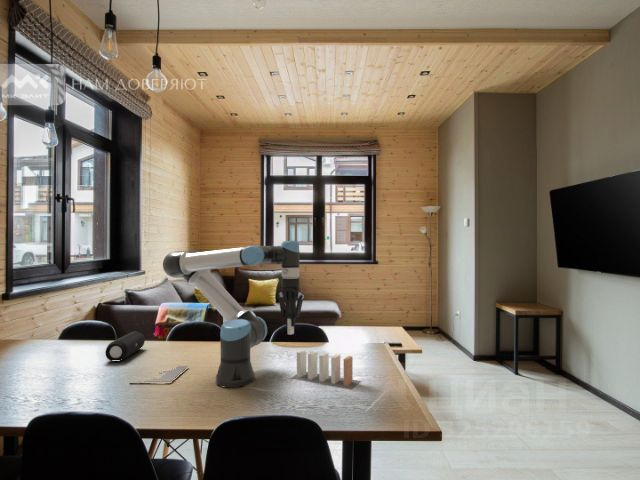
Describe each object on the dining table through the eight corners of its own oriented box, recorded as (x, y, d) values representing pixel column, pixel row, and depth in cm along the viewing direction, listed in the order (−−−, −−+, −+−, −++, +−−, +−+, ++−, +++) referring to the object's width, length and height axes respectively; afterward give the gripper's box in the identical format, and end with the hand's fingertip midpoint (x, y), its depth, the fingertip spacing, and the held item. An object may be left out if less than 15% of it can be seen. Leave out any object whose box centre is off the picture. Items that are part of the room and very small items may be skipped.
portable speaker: (125, 363, 177) (125, 341, 178) (103, 364, 177) (103, 342, 177) (146, 349, 203) (146, 330, 203) (126, 349, 202) (127, 330, 202)
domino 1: (296, 377, 157) (296, 352, 157) (303, 373, 161) (303, 349, 161) (300, 377, 156) (300, 352, 156) (306, 374, 160) (306, 350, 161)
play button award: (188, 366, 170) (170, 381, 150) (188, 369, 170) (170, 385, 150) (152, 365, 170) (129, 381, 150) (152, 369, 170) (129, 385, 150)
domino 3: (319, 381, 152) (319, 355, 152) (325, 377, 156) (325, 352, 156) (323, 381, 151) (323, 356, 151) (328, 377, 156) (328, 353, 156)
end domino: (343, 385, 147) (343, 359, 147) (348, 381, 151) (348, 355, 152) (347, 386, 146) (347, 359, 146) (352, 382, 151) (352, 356, 151)
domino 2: (307, 379, 154) (307, 354, 154) (313, 375, 159) (313, 351, 159) (311, 379, 153) (311, 354, 154) (317, 376, 158) (317, 351, 158)
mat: (290, 379, 155) (290, 378, 155) (302, 372, 164) (302, 371, 164) (351, 390, 143) (351, 389, 143) (361, 382, 152) (361, 381, 152)
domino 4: (331, 383, 149) (331, 357, 150) (336, 379, 154) (336, 354, 154) (334, 383, 149) (334, 357, 149) (340, 380, 153) (340, 354, 153)
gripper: (272, 277, 162) (272, 334, 161) (299, 278, 156) (299, 337, 155) (282, 276, 168) (282, 330, 168) (308, 277, 162) (308, 333, 162)
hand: (290, 333), depth 161 cm, fingers closed
